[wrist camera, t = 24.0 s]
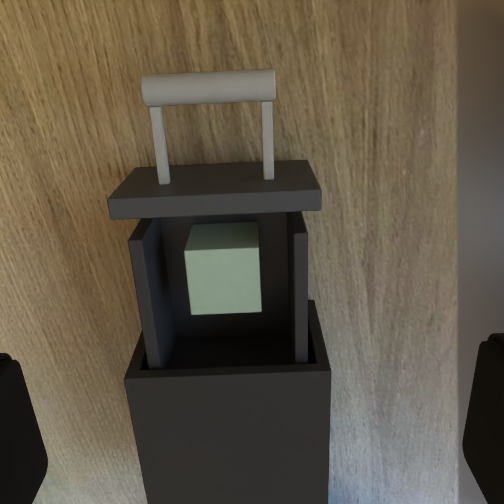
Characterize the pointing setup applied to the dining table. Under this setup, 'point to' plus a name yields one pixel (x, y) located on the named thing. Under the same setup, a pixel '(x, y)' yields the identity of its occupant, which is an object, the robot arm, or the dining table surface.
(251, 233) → the block
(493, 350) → the robot arm
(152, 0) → the dining table surface
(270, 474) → the cabinet
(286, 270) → the drawer
